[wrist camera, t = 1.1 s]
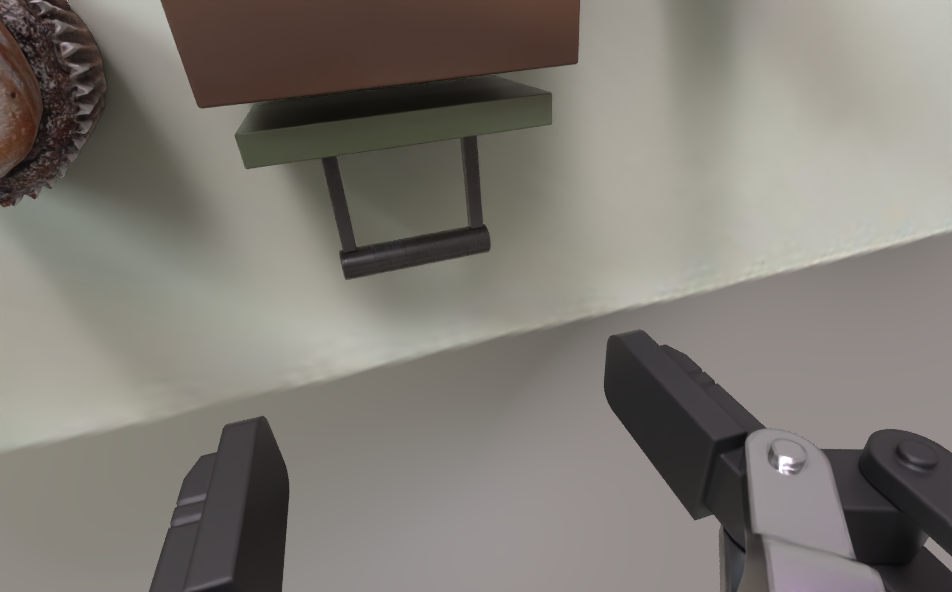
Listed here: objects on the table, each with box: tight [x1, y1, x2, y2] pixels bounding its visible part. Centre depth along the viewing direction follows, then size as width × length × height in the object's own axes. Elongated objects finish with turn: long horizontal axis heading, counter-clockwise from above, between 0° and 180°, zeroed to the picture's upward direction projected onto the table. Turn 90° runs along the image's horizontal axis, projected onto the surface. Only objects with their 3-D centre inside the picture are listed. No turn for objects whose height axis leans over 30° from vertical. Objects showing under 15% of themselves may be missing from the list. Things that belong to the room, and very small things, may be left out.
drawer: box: [235, 76, 552, 280], centre depth 19 cm, size 19×12×7 cm, turn 5°
